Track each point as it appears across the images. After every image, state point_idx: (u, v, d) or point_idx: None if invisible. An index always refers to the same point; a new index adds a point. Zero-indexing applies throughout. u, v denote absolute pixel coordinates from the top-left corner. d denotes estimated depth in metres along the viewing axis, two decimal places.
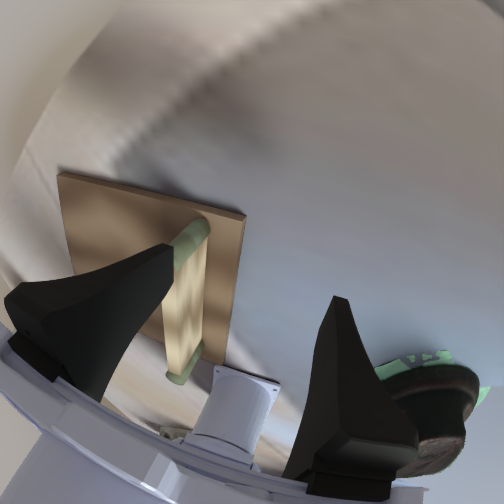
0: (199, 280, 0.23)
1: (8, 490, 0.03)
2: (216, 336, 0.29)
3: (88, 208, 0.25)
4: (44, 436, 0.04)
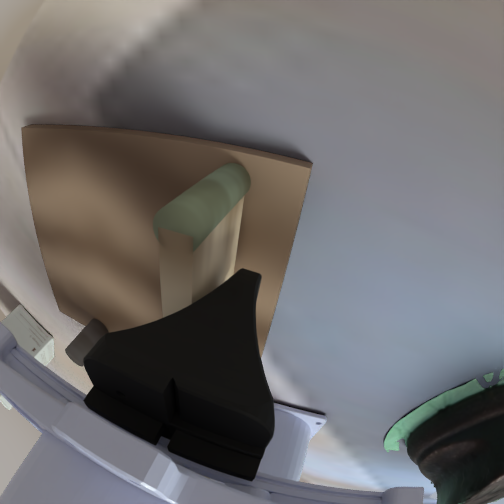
0: (228, 272, 0.14)
1: (8, 490, 0.03)
2: None
3: (58, 169, 0.16)
4: (45, 436, 0.04)
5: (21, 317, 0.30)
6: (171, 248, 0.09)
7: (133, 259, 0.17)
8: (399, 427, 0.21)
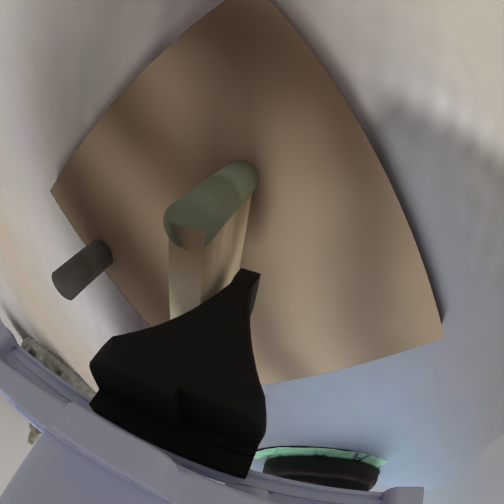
0: (234, 270, 0.14)
1: (8, 490, 0.03)
2: None
3: (262, 98, 0.11)
4: (44, 436, 0.04)
5: None
6: (181, 244, 0.09)
7: (251, 263, 0.15)
8: (279, 449, 0.28)
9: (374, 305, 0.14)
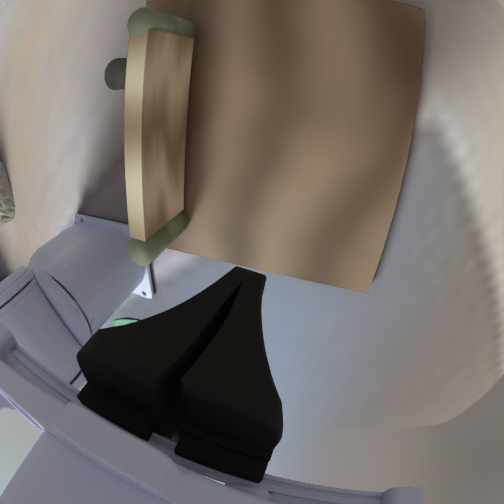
0: (181, 90, 0.16)
1: (8, 490, 0.03)
2: (200, 246, 0.23)
3: (374, 66, 0.13)
4: (45, 436, 0.04)
5: None
6: (136, 32, 0.11)
7: (281, 151, 0.18)
8: None
9: (340, 235, 0.19)
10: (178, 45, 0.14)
